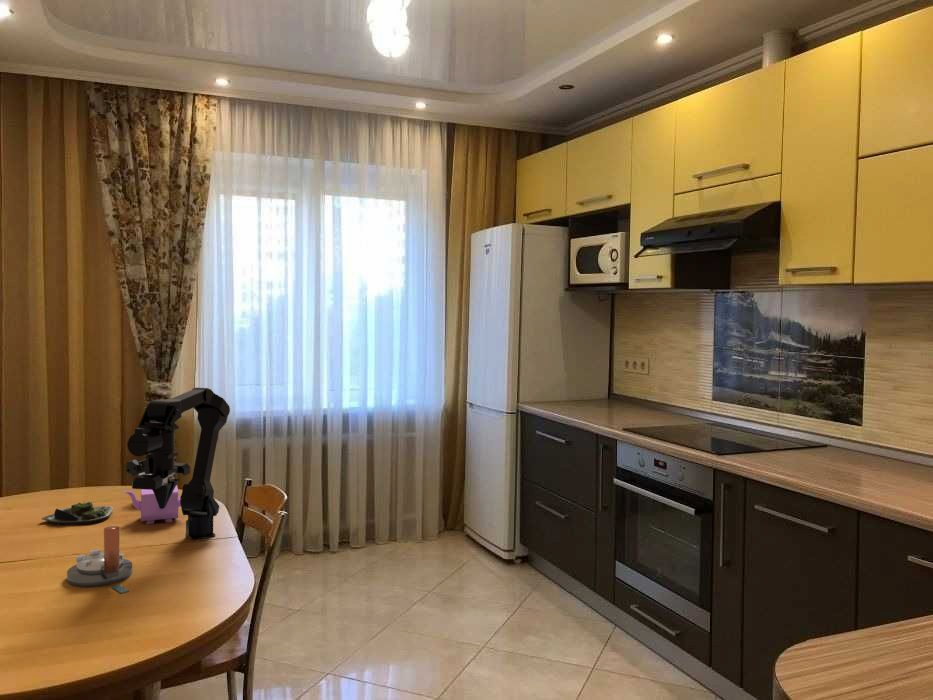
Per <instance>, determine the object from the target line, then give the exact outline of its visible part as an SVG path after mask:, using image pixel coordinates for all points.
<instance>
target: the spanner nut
mask: <svg viewBox="0 0 933 700" xmlns="http://www.w3.org/2000/svg"><path fill="white" fill-rule="evenodd" d="M124 557H125V553H124V552H120V526H118V525H117V526H116V525H110V526H106V527H104V528H103V551H101V550H100V548H97V549H91V550H89V553H88V554H78V555H77V556H76V557H75V562H76V564H77V571H78V572H79V573H82V574H103V575H104V576H105V577H106V578H112V577H117V576H119V568H121V567H122V566H123V559H124Z"/></svg>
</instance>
